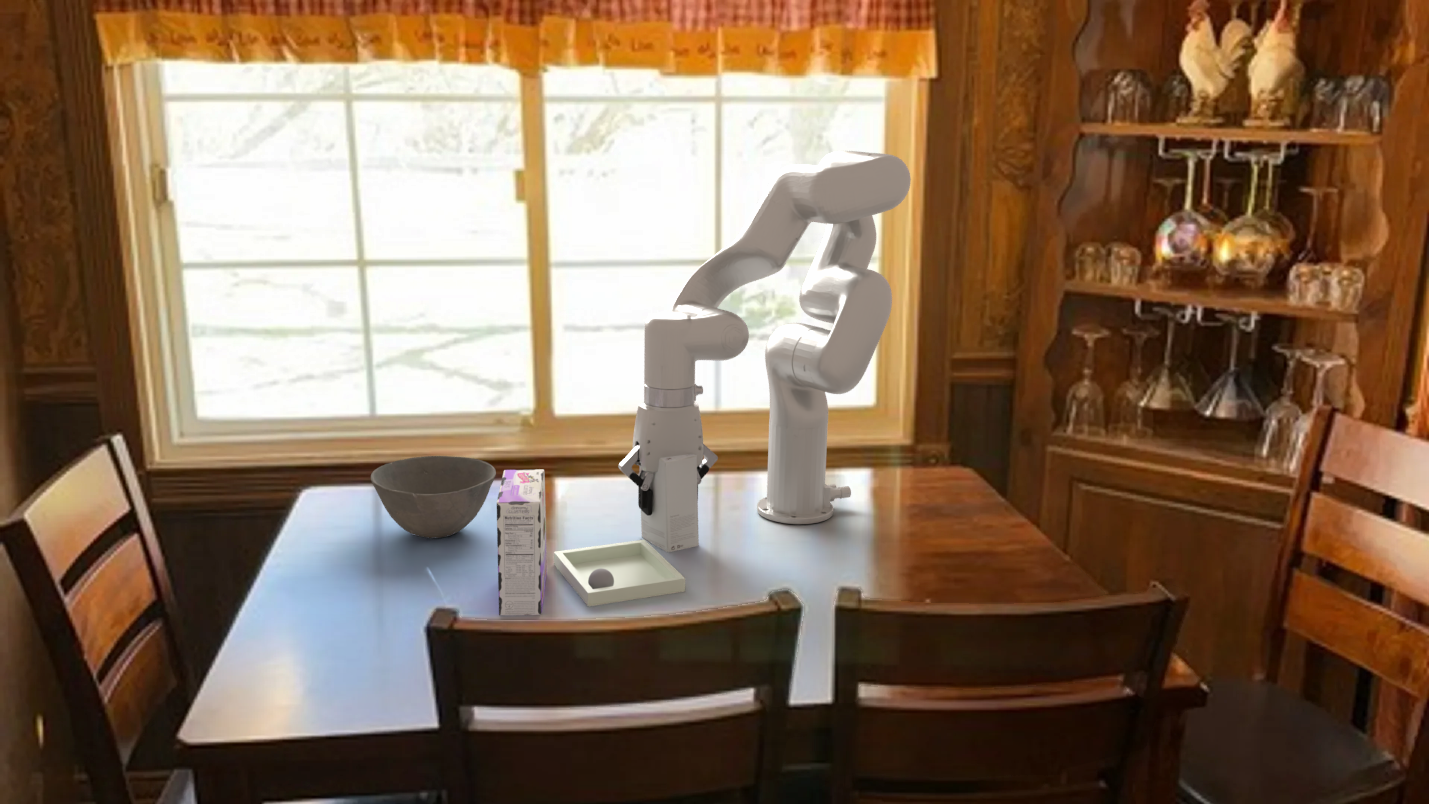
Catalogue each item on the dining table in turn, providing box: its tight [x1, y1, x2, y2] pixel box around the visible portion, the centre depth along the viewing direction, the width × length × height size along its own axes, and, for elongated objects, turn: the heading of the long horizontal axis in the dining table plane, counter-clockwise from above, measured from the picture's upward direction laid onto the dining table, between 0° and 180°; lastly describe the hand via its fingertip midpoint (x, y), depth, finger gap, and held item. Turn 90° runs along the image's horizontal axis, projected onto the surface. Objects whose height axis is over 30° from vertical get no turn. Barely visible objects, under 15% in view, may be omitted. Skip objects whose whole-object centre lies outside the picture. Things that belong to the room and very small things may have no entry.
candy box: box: [496, 468, 548, 616], centre depth 165 cm, size 14×6×16 cm, turn 5°
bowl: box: [370, 455, 497, 539], centre depth 189 cm, size 19×19×10 cm
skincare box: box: [639, 454, 700, 553], centre depth 186 cm, size 8×6×15 cm
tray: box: [553, 538, 686, 607], centre depth 173 cm, size 14×16×2 cm
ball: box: [588, 568, 614, 589], centre depth 168 cm, size 4×4×4 cm
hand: (668, 509), depth 187 cm, fingers closed on skincare box, 6 cm apart
